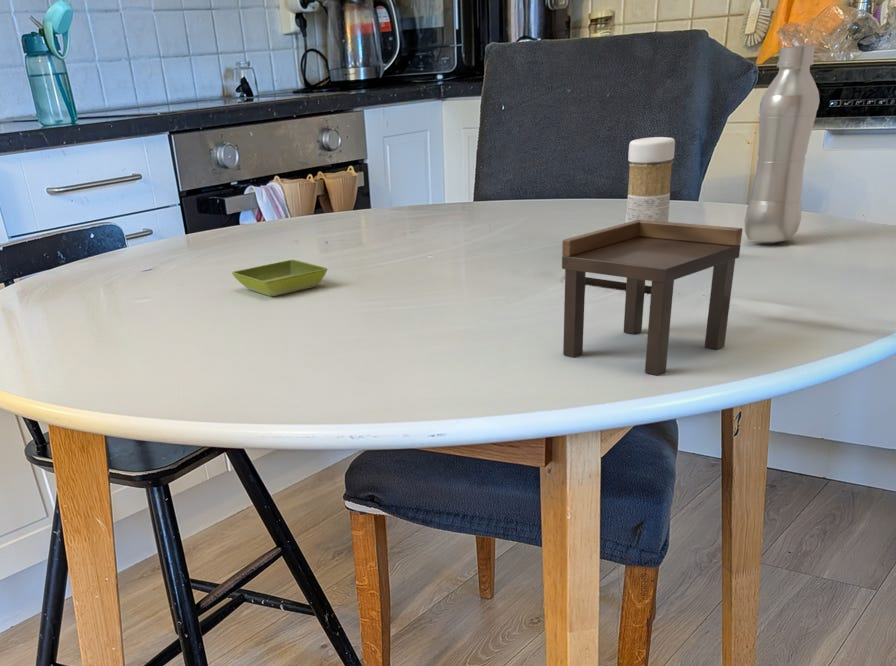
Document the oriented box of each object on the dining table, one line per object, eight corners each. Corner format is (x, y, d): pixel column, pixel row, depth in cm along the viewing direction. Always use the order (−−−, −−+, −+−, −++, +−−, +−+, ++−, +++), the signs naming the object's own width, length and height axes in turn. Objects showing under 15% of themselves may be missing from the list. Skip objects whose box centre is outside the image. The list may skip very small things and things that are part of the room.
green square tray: (331, 286, 104) (329, 267, 103) (267, 300, 100) (264, 281, 99) (295, 276, 110) (292, 259, 109) (233, 290, 106) (230, 272, 105)
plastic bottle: (799, 237, 108) (831, 43, 97) (795, 248, 103) (827, 45, 92) (745, 237, 111) (769, 47, 100) (737, 247, 106) (763, 49, 95)
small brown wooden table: (728, 346, 74) (743, 228, 69) (657, 376, 69) (668, 251, 63) (630, 328, 80) (637, 219, 75) (559, 355, 75) (562, 239, 70)
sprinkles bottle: (642, 271, 99) (651, 135, 91) (672, 277, 96) (685, 136, 88) (612, 279, 97) (619, 140, 89) (642, 285, 94) (652, 141, 86)
